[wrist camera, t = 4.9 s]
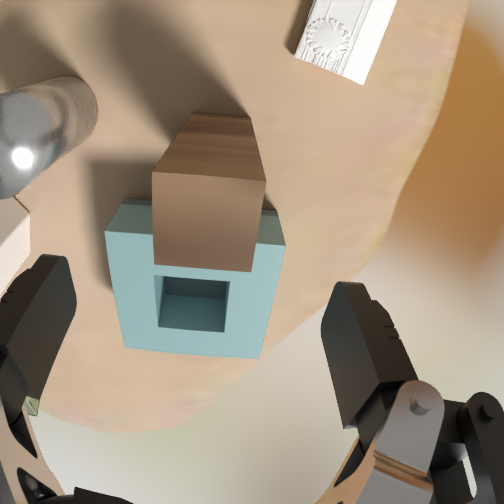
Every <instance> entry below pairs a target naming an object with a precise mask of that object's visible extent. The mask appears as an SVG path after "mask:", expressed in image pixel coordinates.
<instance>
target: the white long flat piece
mask: <svg viewBox="0 0 504 504" xmlns="http://www.w3.org/2000/svg"><path fill="white" fill-rule="evenodd" d="M396 1H397V0H316V2H315V0H314V2H315V4H314V3H313V4H314V7H313V5H312V7H313V9H312V7H311V9H312V12H311V10H310V12H311V14H310V12H309V14H310V17H309V19H308V17H307V20H308V22H307V20H306V23H307V25H306V27H305V30H304V32H303V35H302V37H301V40H300V42H299V45H298V48H297V50H296V53H295V55H294V57H295V58H297V59H300V60H303V61H306V62H308V63H311V64H314V65H316V66H319V67H321V68H324V69H326V70H329V71H331V72H333V73H336V74H338V75H341V76H343V77H345V78H348V79H350V80H352V81H354V82H356V83H359V84H361V85H363V84H364V82H365V79H366V77H367V74H368V72H369V70H370V67H371V65H372V62H373V60H374V57H375V55H376V52H377V50H378V47H379V45H380V42H381V40H382V37H383V35H384V32H385V30H386V27H387V25H388V22H389V20H390V17H391V14H392V12H393V9H394V7H395V4H396ZM308 16H309V15H308Z"/></svg>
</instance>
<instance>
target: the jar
mask: <svg viewBox="0 0 504 504" xmlns="http://www.w3.org/2000/svg"><path fill="white" fill-rule="evenodd" d="M29 254H30V214H29V212H28V211H27V210H26V209H25V208H24V207H23V206H22V205H21V204H20V203H19V202H18V201H17V200H16V199H15V198H14V197H11V198H8V199H0V295H1V293H2V292H3V290H4V289H5V287H6V286H7V284H8V283H9V282H10V280H11V279H12V277H13V276H14V274H15V273H16V272H17V270H18V269H19V267H20V266H21V265H22V263H23V262H24V261H25V259H26V258H27V257H28V255H29Z"/></svg>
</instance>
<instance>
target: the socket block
mask: <svg viewBox="0 0 504 504" xmlns="http://www.w3.org/2000/svg"><path fill="white" fill-rule="evenodd" d="M104 232H105V240H106V248H107V255H108V262H109V268H110V275H111V281H112V287H113V292H114V298H115V303H116V308H117V313H118V318H119V323H120V327H121V332H122V336H123V341H124V345H125V348H132V349H140V350H149V351H158V352H167V353H177V354H188V355H200V356H214V357H231V358H253V359H259V356H260V352H261V348H262V344H263V340H264V336H265V332H266V328H267V324H268V320H269V316H270V312H271V307H272V303H273V299H274V295H275V291H276V286H277V282H278V278H279V274H280V269H281V265H282V261H283V256H284V252H285V247H286V244H285V240H284V236H283V232H282V229H281V225H280V221H279V217H278V213H277V211H276V210H266V209H262V210H261V216H260V222H259V229H258V235H257V241H256V247H255V253H254V259H253V265H252V271H251V272H238V271H225V270H213V269H200V268H188V267H176V266H165V265H154V251H153V224H152V200H143V199H126V198H125V199H124V201H123V202H122V204H121V205H120V207H119V209H118V210H117V212H116V213H115V215H114V216H113V218H112V220H111V221H110V223H109V224H108V226H107V228H106V229H105V231H104Z"/></svg>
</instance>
